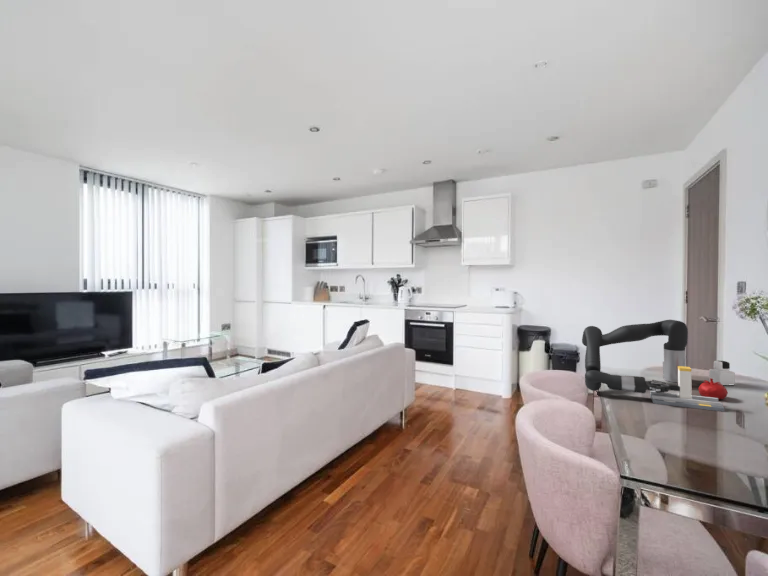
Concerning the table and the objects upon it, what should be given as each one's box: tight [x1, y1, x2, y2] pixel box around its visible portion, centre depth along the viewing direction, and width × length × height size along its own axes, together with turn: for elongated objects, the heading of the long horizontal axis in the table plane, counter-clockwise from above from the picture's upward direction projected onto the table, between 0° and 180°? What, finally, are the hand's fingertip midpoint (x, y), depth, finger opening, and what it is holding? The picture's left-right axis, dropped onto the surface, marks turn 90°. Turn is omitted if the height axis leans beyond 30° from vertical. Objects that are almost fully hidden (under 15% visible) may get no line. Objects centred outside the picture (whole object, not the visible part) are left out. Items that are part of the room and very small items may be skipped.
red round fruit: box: [697, 378, 728, 401], centre depth 165 cm, size 10×10×9 cm
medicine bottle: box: [708, 360, 736, 385], centre depth 185 cm, size 7×7×12 cm
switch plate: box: [649, 390, 725, 413], centre depth 159 cm, size 24×11×3 cm, turn 59°
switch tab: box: [677, 366, 693, 399], centre depth 159 cm, size 4×5×15 cm
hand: (679, 388), depth 159 cm, fingers closed
